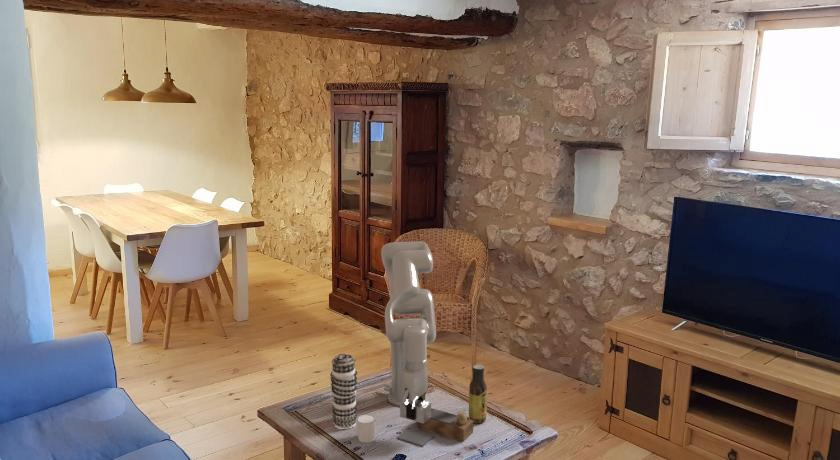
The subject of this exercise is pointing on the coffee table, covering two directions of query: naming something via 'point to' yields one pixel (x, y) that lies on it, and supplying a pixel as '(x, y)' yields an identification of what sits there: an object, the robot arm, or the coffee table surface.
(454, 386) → the coffee table surface
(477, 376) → the sauce bottle
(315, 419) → the coffee table surface
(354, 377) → the model tower building
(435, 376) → the coffee table surface
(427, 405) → the grey box with knob
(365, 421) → the white cylinder
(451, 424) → the hand plane
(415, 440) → the rubber mat
